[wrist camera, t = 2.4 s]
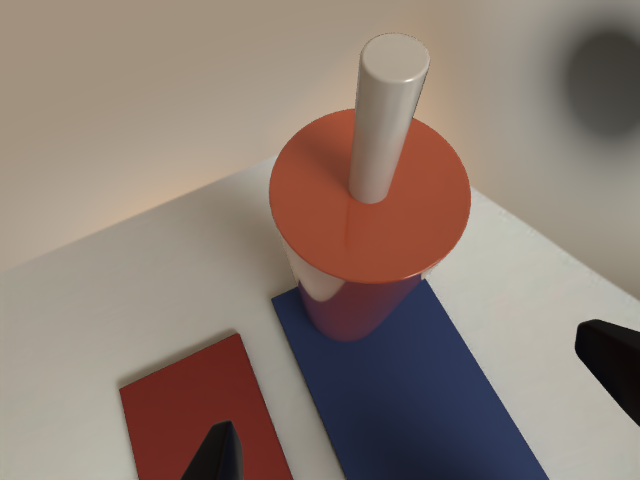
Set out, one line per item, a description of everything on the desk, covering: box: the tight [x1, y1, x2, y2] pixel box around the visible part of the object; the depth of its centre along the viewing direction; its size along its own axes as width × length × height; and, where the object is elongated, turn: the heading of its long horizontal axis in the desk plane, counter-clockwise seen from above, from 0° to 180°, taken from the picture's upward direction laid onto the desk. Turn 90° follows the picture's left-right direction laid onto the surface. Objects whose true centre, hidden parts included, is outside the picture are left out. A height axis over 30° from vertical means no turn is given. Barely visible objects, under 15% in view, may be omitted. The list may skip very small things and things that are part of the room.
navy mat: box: [271, 279, 549, 480], centre depth 18 cm, size 20×9×1 cm, turn 25°
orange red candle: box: [269, 33, 471, 342], centre depth 12 cm, size 5×5×16 cm
